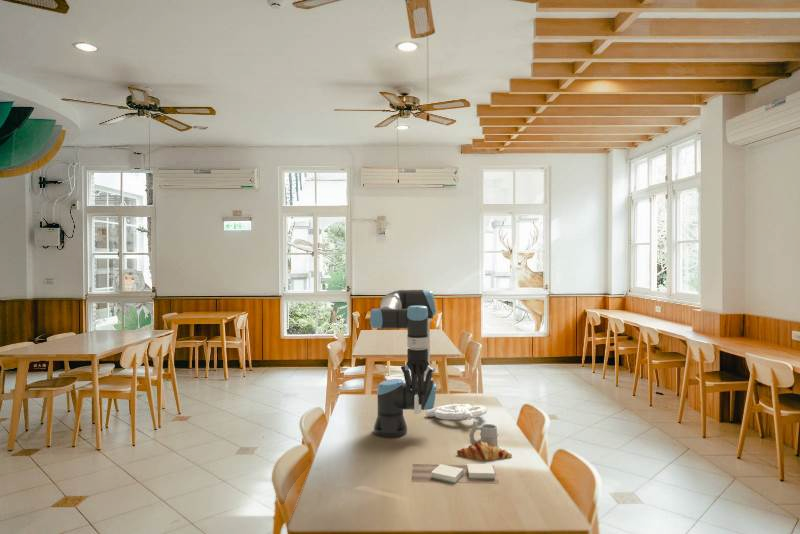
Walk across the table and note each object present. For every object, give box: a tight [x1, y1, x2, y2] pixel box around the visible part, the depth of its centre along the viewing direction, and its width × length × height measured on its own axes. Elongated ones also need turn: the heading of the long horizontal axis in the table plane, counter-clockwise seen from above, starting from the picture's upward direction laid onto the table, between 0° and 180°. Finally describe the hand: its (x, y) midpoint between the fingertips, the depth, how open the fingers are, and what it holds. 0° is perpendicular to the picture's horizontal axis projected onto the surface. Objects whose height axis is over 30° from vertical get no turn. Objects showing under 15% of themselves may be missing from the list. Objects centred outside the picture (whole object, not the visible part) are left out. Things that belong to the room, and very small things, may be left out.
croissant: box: [456, 442, 513, 462], centre depth 193 cm, size 21×10×8 cm, turn 85°
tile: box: [431, 463, 464, 484], centre depth 175 cm, size 8×2×9 cm
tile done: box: [466, 463, 496, 479], centre depth 177 cm, size 8×9×2 cm
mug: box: [468, 420, 500, 448], centre depth 202 cm, size 8×12×12 cm, turn 84°
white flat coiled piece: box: [425, 403, 488, 421], centre depth 244 cm, size 28×24×6 cm
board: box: [411, 463, 500, 485], centre depth 177 cm, size 15×30×1 cm, turn 87°
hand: (417, 412), depth 180 cm, fingers closed
